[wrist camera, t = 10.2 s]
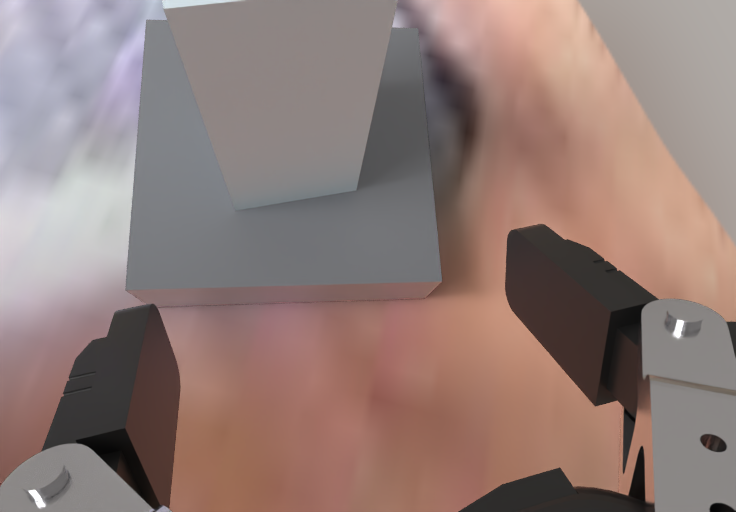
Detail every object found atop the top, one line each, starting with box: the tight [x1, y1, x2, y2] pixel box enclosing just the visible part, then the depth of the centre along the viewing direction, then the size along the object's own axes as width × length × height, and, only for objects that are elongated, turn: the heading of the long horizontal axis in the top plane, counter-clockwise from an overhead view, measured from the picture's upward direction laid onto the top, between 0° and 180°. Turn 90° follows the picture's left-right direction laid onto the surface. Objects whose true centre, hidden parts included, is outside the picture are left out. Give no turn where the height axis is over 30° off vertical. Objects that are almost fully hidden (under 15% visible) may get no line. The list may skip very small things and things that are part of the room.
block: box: [162, 0, 398, 211], centre depth 15 cm, size 4×4×10 cm
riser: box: [125, 20, 442, 307], centre depth 21 cm, size 11×11×3 cm
